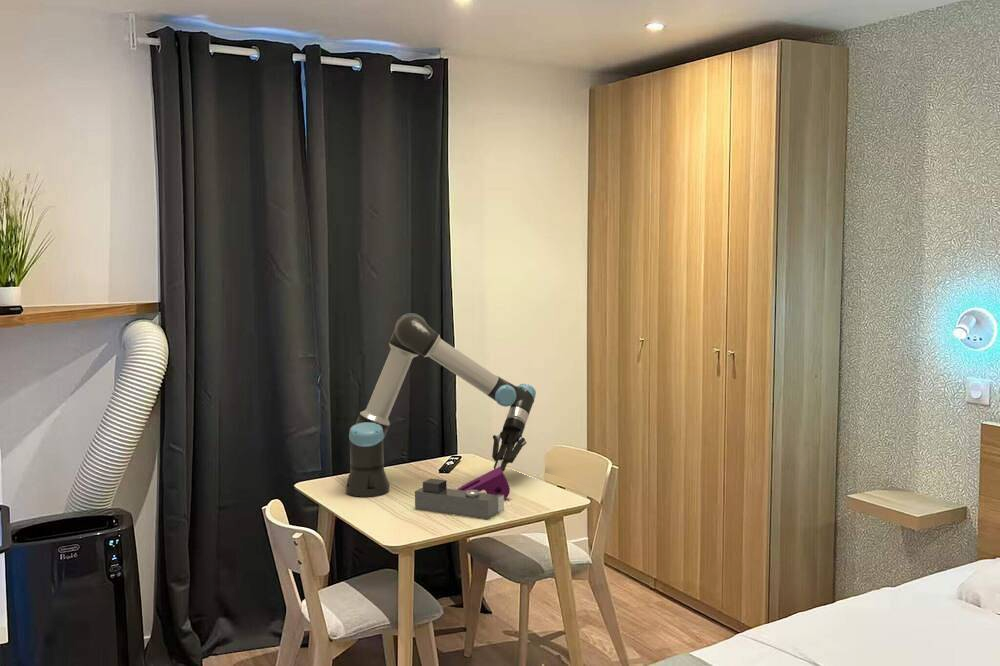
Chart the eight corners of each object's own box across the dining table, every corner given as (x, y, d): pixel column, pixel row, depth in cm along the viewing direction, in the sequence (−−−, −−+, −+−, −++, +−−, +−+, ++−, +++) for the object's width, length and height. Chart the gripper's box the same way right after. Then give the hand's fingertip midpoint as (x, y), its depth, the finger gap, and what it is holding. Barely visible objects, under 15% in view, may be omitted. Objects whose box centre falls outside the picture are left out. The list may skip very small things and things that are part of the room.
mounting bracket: (465, 519, 295) (513, 494, 295) (454, 497, 294) (502, 473, 294) (464, 511, 304) (510, 487, 305) (453, 490, 303) (500, 466, 304)
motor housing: (415, 509, 287) (414, 482, 286) (432, 500, 296) (432, 474, 295) (488, 519, 274) (488, 491, 274) (504, 510, 284) (503, 482, 283)
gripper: (534, 429, 321) (516, 485, 307) (502, 426, 326) (483, 481, 313) (528, 417, 315) (509, 474, 302) (496, 415, 321) (475, 470, 308)
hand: (495, 477), depth 308 cm, fingers closed
